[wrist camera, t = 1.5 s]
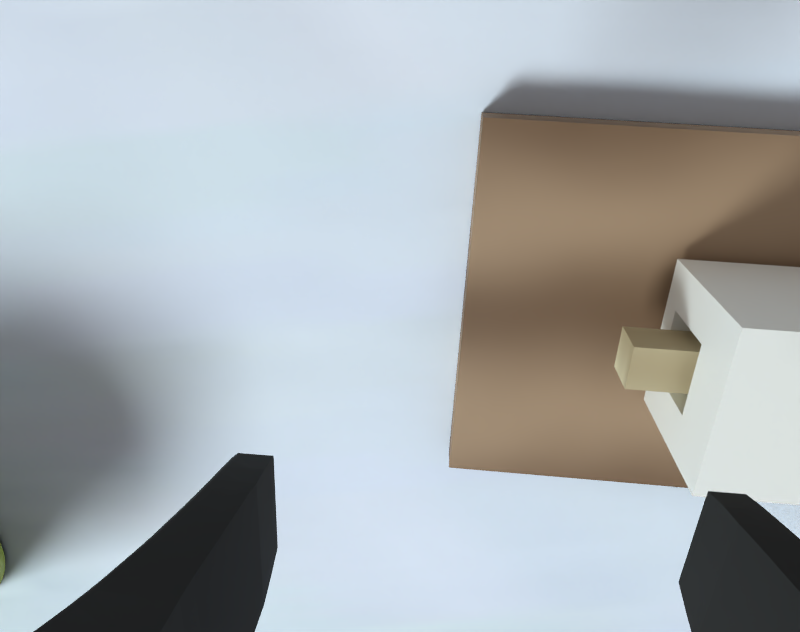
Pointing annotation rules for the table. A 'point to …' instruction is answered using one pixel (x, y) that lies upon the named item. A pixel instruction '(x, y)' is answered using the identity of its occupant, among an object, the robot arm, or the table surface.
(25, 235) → the table surface
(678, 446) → the sleeve
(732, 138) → the board
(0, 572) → the plant pot
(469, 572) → the table surface
